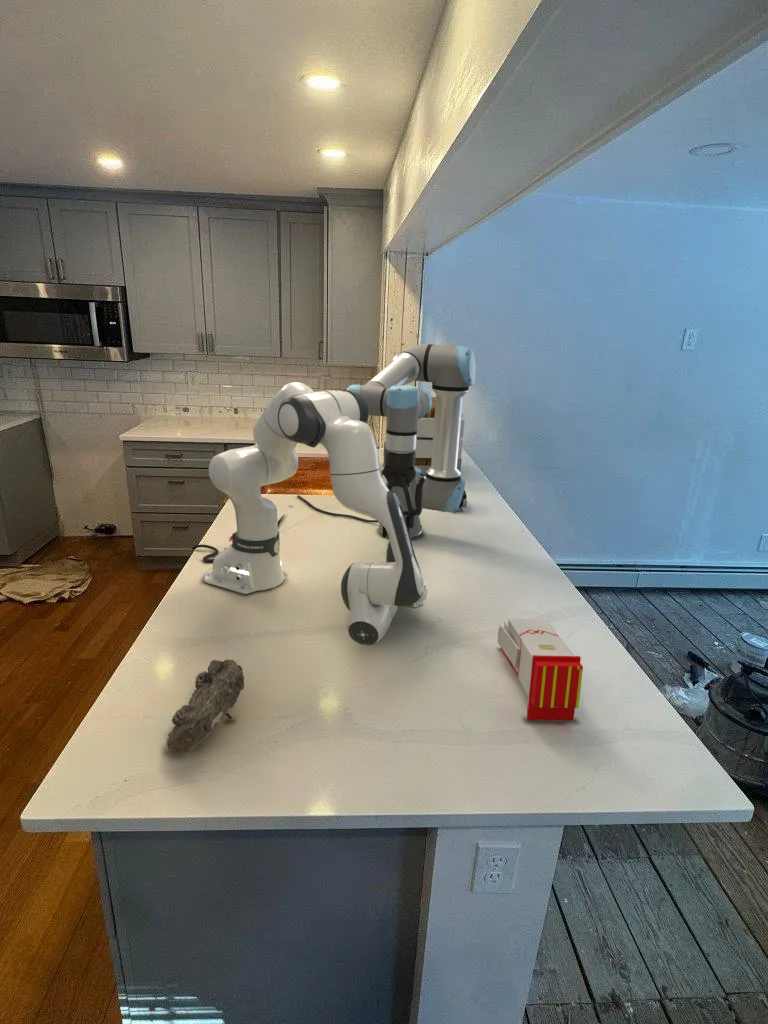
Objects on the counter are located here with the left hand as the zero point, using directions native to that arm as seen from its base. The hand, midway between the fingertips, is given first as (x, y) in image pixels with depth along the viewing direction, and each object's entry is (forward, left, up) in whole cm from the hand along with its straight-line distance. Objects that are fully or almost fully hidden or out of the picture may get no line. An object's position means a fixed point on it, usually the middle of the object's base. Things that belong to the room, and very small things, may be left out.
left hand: (394, 577), depth 152 cm
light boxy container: (-18, +127, -7) cm, 129 cm away
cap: (0, -1, +14) cm, 14 cm away
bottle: (0, -1, -7) cm, 7 cm away
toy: (+37, -25, -7) cm, 45 cm away
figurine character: (+6, +83, -7) cm, 84 cm away
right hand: (0, -1, +12) cm, 12 cm away
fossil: (-22, -56, -7) cm, 61 cm away
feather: (-53, +47, -7) cm, 71 cm away
